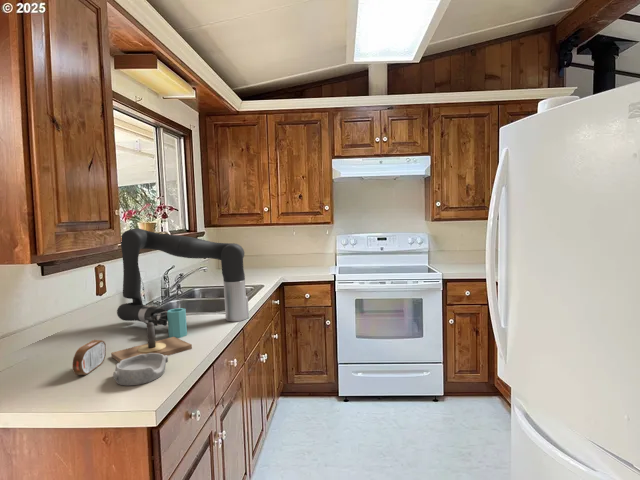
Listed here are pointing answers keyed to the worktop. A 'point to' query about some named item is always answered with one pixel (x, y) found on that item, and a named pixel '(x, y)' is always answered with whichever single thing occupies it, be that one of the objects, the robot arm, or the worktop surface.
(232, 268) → the robot arm
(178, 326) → the collar
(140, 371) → the dish
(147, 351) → the post stand
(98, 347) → the tin
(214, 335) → the worktop surface
